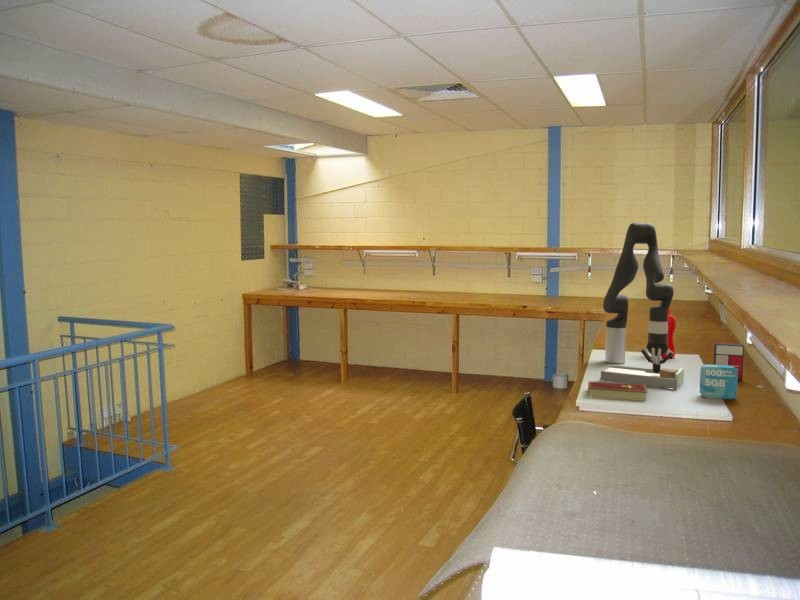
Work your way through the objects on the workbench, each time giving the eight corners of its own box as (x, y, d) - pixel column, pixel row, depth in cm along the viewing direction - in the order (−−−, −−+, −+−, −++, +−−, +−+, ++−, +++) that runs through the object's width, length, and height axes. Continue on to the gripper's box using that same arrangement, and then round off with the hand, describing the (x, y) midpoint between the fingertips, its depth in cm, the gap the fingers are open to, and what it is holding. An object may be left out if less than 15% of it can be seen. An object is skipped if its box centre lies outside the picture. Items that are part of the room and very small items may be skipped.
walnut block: (662, 375, 261) (662, 368, 261) (677, 376, 258) (678, 369, 257) (659, 377, 256) (660, 370, 256) (675, 379, 253) (675, 372, 252)
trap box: (610, 373, 278) (611, 360, 278) (683, 381, 262) (684, 367, 262) (600, 380, 264) (600, 366, 263) (676, 389, 248) (677, 374, 247)
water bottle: (662, 354, 326) (664, 306, 323) (677, 358, 315) (679, 309, 313) (647, 355, 323) (649, 307, 321) (662, 359, 312) (664, 309, 310)
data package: (701, 397, 235) (703, 366, 234) (699, 394, 240) (700, 364, 238) (736, 399, 232) (738, 368, 231) (733, 396, 237) (735, 365, 236)
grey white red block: (713, 378, 268) (715, 344, 266) (712, 376, 272) (714, 342, 270) (742, 380, 264) (744, 345, 263) (740, 378, 268) (742, 344, 267)
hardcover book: (588, 390, 247) (588, 380, 247) (644, 394, 241) (644, 384, 241) (587, 398, 236) (588, 387, 236) (647, 402, 230) (647, 391, 230)
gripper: (676, 331, 258) (674, 373, 259) (643, 329, 265) (641, 369, 266) (673, 334, 251) (671, 376, 253) (639, 331, 258) (637, 372, 260)
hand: (656, 372), depth 260 cm, fingers closed
